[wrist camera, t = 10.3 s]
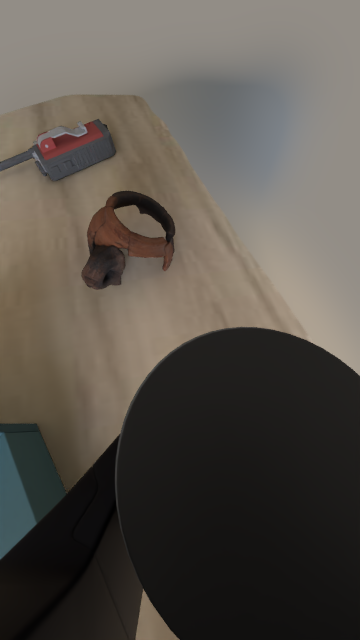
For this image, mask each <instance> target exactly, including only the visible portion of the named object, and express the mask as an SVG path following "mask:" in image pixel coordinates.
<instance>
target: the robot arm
mask: <svg viewBox="0 0 360 640" xmlns="http://www.w3.org/2000/svg"><path fill="white" fill-rule="evenodd" d="M119 437H120V434H119V436H118V437H117V438H116V439H115V440H114V441H113V443H112V444H111V445H110V446H109V447H108V448H107V449H106V451H105V452H104V453H103V454H102V455H101V456H100V457H99V459H98V460H97V461H96V462H95V463H94V464H93V467H91V468H90V469H89V470H88V471H87V472H86V473H85V474H84V476H83V477H82V478H81V479H80V480H79V481H78V482H77V483H76V484H75V486H74V487H73V488H72V489H71V490H70V491H69V492H68V493H67V494H66V495H65V496H64V497H63V498H62V499H61V500H60V501H59V502H58V503H57V504H56V505H55V506H54V507H53V508H52V509H51V510H50V511H49V512H48V513H47V514H46V515H45V516H44V517H43V518H42V519H41V520H40V521H39V522H38V523H37V524H36V525H35V526H34V527H33V528H32V529H31V530H30V531H29V532H28V533H27V534H26V535H25V536H24V537H23V538H22V539H21V540H20V541H19V542H18V543H17V544H16V545H15V546H14V547H13V548H12V549H11V550H10V551H9V552H8V553H7V554H6V555H4V556H3V557H2V558H1V559H0V640H135V637H136V631H137V624H138V618H139V611H140V605H141V599H142V592H143V587H142V585H141V583H140V581H139V579H138V577H137V575H136V573H135V570H134V568H133V565H132V563H131V560H130V558H129V555H128V553H127V549H126V546H125V542H124V539H123V535H122V532H121V528H120V523H119V517H118V511H117V505H116V491H115V467H116V455H117V449H118V442H119Z"/></svg>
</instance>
